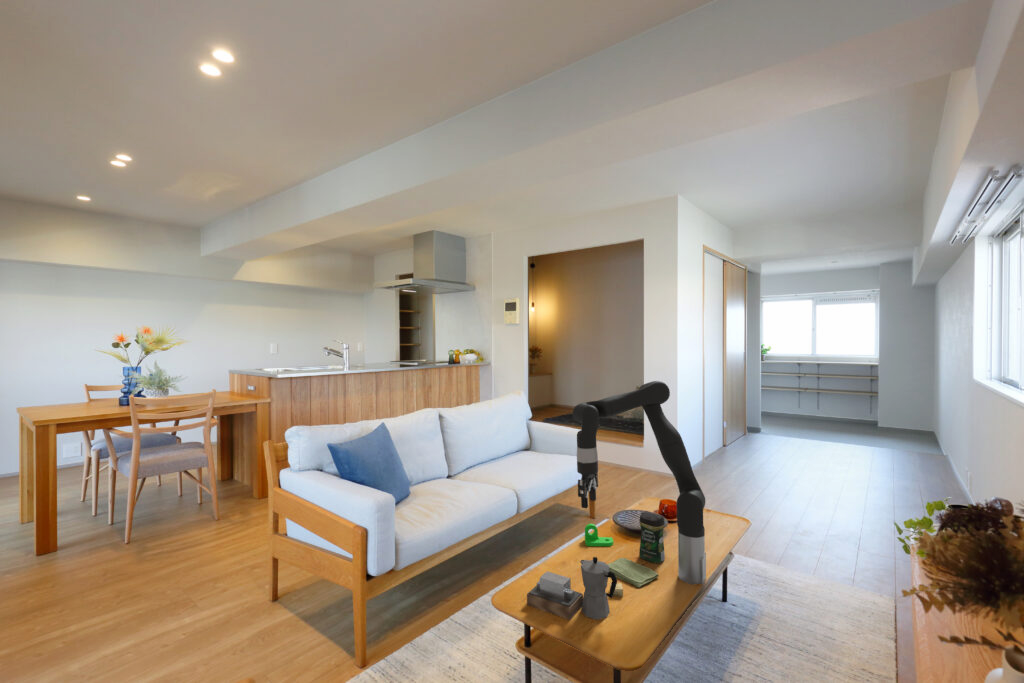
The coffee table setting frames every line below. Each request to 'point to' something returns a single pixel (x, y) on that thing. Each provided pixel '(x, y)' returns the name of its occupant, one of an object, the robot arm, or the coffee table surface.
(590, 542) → the mechanical part
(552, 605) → the stand
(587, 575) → the coffeepot
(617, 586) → the brass block
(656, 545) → the coffee jar
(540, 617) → the coffee table surface
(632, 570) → the washcloth
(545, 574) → the block
